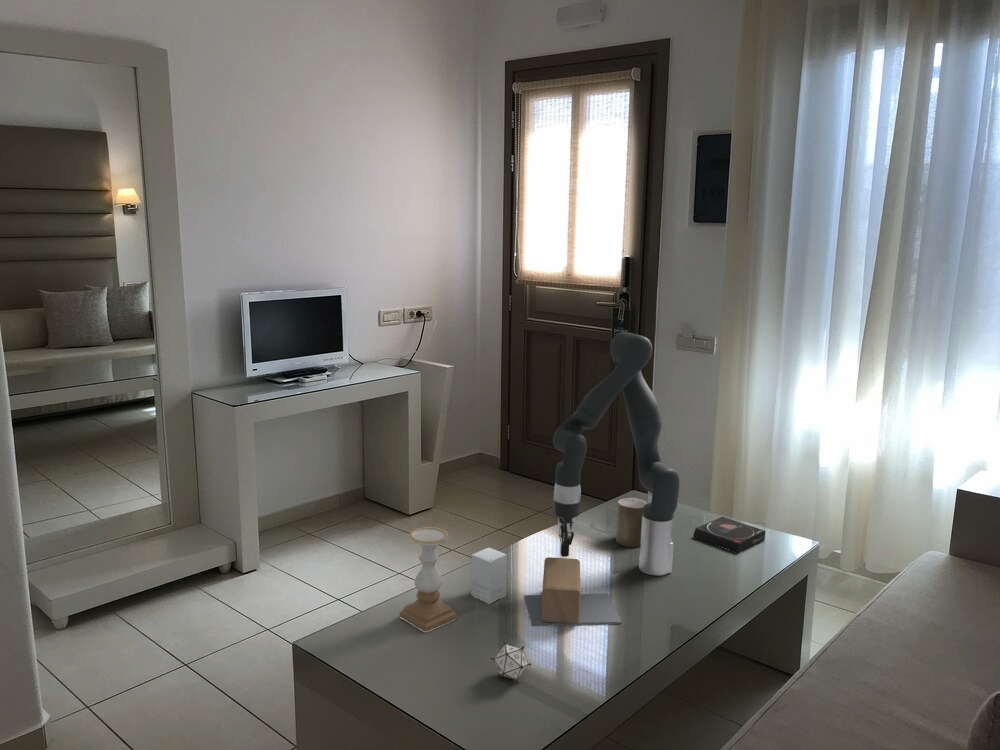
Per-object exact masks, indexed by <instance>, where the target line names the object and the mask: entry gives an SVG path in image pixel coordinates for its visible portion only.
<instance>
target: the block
mask: <svg viewBox="0 0 1000 750" xmlns="http://www.w3.org/2000/svg"><path fill="white" fill-rule="evenodd" d="M543 563H544V564H543V576H542V577H543V578H542V588H541V589H542V590H541V591H542V592H541V595H542V611H541V618H542V621H544V622H554V623H569V624H577V623H578V622H579V617H580V597H581V594H582V586H581V562H580V560H579V559H578V558H567V557H566V558H565V557H550V556H548V557H545V558H544V561H543Z"/></svg>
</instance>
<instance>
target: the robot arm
mask: <svg viewBox="0 0 1000 750" xmlns="http://www.w3.org/2000/svg"><path fill="white" fill-rule="evenodd" d="M609 349H610V357H611V359H612V362H613V364H614V367H615V368H614V369H613V370H612V372H611V373H609V375H608V376H607V377H605V378H604V379H603V380H601V381H600V382H599V383H598V384H596V385H595V386H594V387H593V388H592V389H590V390H589V392H588V393H587V394H586V395H585V396H584V398H583V399H582V401H581V402H580V404H579V405H578V406H577V408H576V409H575V411H574V412H573V414H571V415H570V416H569V417H568V418H567V419H566V420H564V421H563V422H562V423H561V424H560V425H559V426H558V427H557V429H556V430H555V432H554V434H553V437H552V444H553V446H554V448H555V449H556V450H557V451H558V452H561V453H563V455H564V456H563V460H562V461H560V462H558V463H557V464H556V467H555V483H554V487H553V488H554V489H553V509H552V510H553V511H552V512H553V515H554V516H556V517H558V518H557V524H558V536H559V542H560V556H561V558H565V557H566V558H567V557H569V556H570V546H572V544H573V541H574V536H575V533H574V530H573V529H574V528H575V523H574V521H573V519H574V518H578V517H579V515H580V514H581V496H582V493H581V492H582V490H581V475H582V474H581V473H582V472H581V471H582V468H583V465H584V463H585V459H586V455H587V449H588V445H587V444H588V443H587V440H586V437H585V436H584V435H583V434H582V433H583V432H584V431H585V430H592V429H594V428H596V426H597V425H598V423H599V422H600V421H601V419H602V418H603V416H604V414H605V413H606V412H607V410H608V409H609V408H610V406H611V404H612V403H613V402H614V400H615V399H616V398H617V397H618V395H619V394H620V393H621V392H622V396H623V399H624V404H625V408H626V414H627V417H628V422H629V428H630V430H631V434H632V439H633V443H634V449H635V453H636V454H635V455H636V458H637V460H636V461H637V468H638V469H637V470H638V477H639V483H640V484H641V486H642V487H643V488H644V489H645V490H646V491H647V492H649V493H651V495H652V496H651V502H647V504H645V505H644V507H643V512H642V528H641V543H640V547H639V560H638V569H639V571H641V572H642V573H644V574H647V575H651V576H664V575H667V574H672V571H673V557H674V542H673V541H672V539H673V529H674V528H673V526H674V516H675V515H674V514H675V512H676V510H677V508H678V502H679V493H680V484H681V483H680V477H679V473H678V472H677V471H676V470H674V469H673V468H671V467H669V466H667V465H665V464H663V462H662V460H661V456H660V451H659V447H658V442H659V438H660V435H661V431H662V428H663V427H662V426H663V425H662V416H661V413H660V407H659V405H658V401H657V398H656V396H655V395H654V394H653V391H652V390H651V388H650V387H649V385H648V384H647V382H646V380H645V378H644V376H643V373H642V369H643V368H645V366H646V365H647V364H648V363H649V361H650V359H651V357H652V355H653V345H652V342H651V340H650V339H649V338H647V337H646V336H644V335H640V334H635V333H634V332H633V333H632V332H627V331H622V332H619V333H616V334H615V335H614V336H613V338H612V339H611V342H610V347H609Z"/></svg>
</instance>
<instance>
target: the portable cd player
mask: <svg viewBox="0 0 1000 750" xmlns="http://www.w3.org/2000/svg"><path fill="white" fill-rule="evenodd" d="M692 536H693V538H694V537H695V538H694V539H696V538H697V539H696V540H699V539H700V540H699V541H702V540H703V541H702V542H704V541H705V543H707V544H709V545H712V544H713V545H712V546H715V545H717V546H716V547H718V546H720V547H719V548H721V547H723V548H726V549H729V550H731V551H730V552H732V551H734V552H736V553H735V554H737V553H739V554H740V552H741V553H743V552H744V550H745V551H747V550H749V549H751V548H753V547H755V546H757V545H758V544H760V543H763V542H765V539H766V530H764V529H761V528H758V527H755V526H753V525H752V526H751V525H749V524H746V523H744V522H739V521H737V520H734V519H731V518H729V517H725V516H720V517H718V518H716V519H714V520H712V521H711V520H710V521H708V522H707V523H704V524H702V525H699V526H697V527H695V529H694V531H693V535H692ZM723 548H722V549H723ZM726 549H725V550H726ZM729 550H728V551H729ZM734 552H733V553H734Z"/></svg>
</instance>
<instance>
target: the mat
mask: <svg viewBox="0 0 1000 750" xmlns="http://www.w3.org/2000/svg"><path fill="white" fill-rule="evenodd" d="M523 597H524V601H525V605H526V608H527V613H528V617H529V621H530V624H531V625H530V626H532V627H539V626H542V627H543V626H545V627H546V626H548V627H549V626H582V625H583V626H584V625H586V626H587V625H588V626H589V625H590V626H591V625H622V623H623V622H622V620H621V618H620V616H619V613H618V611H617V609H616V607H615V605H614V603H613V601H612V598H611V597H610V594H609V593H608V592H607V593H605V592H604V593H581V597H580V617H579V622H578V623H577V624H569V623H554V622H544V621H542V618H541V611H542V594H524V595H523Z"/></svg>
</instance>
